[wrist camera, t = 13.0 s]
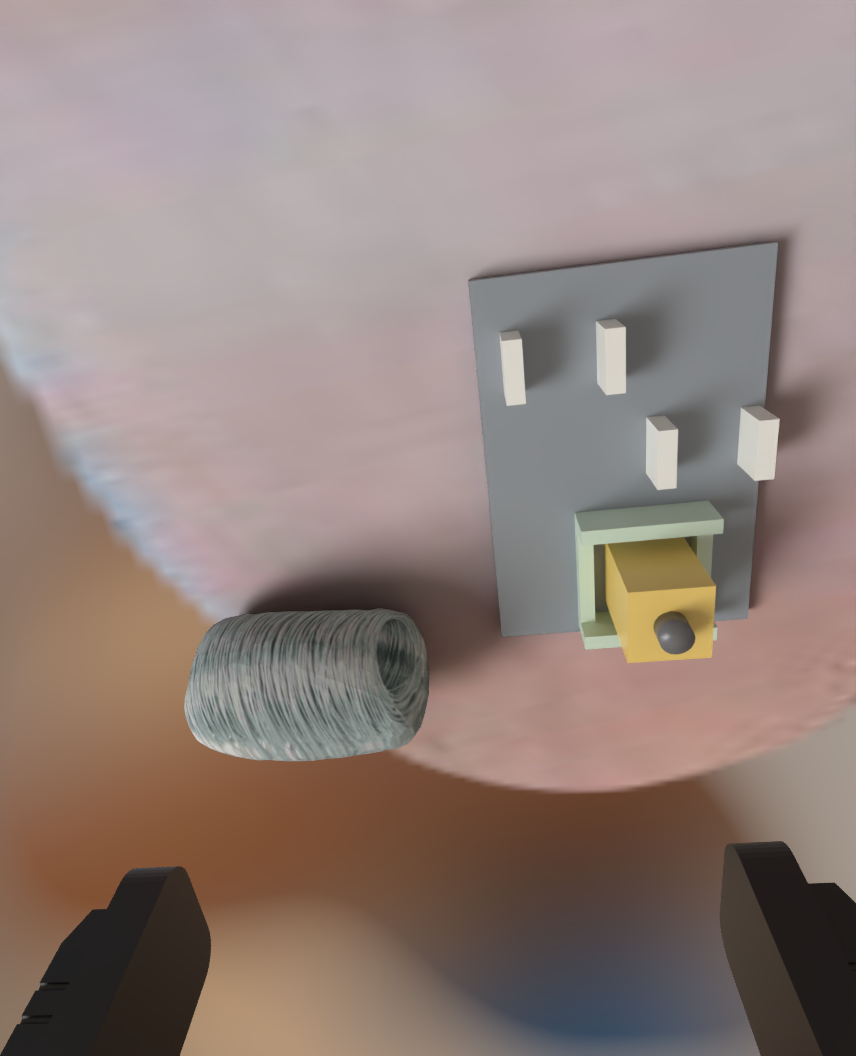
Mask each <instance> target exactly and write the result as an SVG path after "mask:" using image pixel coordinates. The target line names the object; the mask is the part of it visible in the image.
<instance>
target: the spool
mask: <svg viewBox="0 0 856 1056" xmlns="http://www.w3.org/2000/svg"><path fill="white" fill-rule="evenodd" d="M428 694H429V665H428V656H427V650H426V645H425V641H424V639H423V637H422V635H421V633H420V631H419V629H418V627H417V626H416V624H415V622H414V621H413V620H412V618H410V617H409V616H408V615H407V614H406V613H402V612H397V611H394V610H389V609H383V608H376V609H373V610H329V611H328V610H322V611H286V612H266V613H259V614H243V615H239V616H235V617H230V618H226V619H223V620H222V621H220V622H218V623H216V624H214V625H213V626H212V627H211V628H210V629H209V630H208V631H207V632H206V633H205V635H204V637H203V639H202V641H201V643H200V645H199V646H198V648H197V652H196V655H195V658H194V661H193V664H192V668H191V672H190V677H189V683H188V688H187V692H186V696H185V707H184V709H185V714H186V719H187V721H188V724H189V726H190V729H191V731H192V733H193V734H194V736H195V737H196V739H197V740H198V741H199V742H201V743H202V744H204V745H206V746H207V747H209V748H211V749H214V750H216V751H219V752H222V753H225V754H229V755H232V756H237V757H242V758H248V759H254V760H278V761H312V760H320V759H327V758H341V757H348V756H355V755H360V754H368V753H374V752H380V751H384V750H387V749H397V748H399V747H402V746H404V745H406V744H407V743H409V742H410V741H411V740H412V738H413V737H414V736H415V735H416V733H417V732H418V730H419V728H420V727H421V724H422V721H423V718H424V714H425V709H426V705H427V701H428Z"/></svg>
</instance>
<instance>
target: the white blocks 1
mask: <svg viewBox="0 0 856 1056" xmlns="http://www.w3.org/2000/svg"><path fill="white" fill-rule="evenodd" d="M499 334H500V347H501V359H502V372H503V385H504V395H505V400H506V405H507V406H511V405H521V404H526V396H525V381H524V366H523V350H522V338H521V336H520V334H519V331H518V330H516V331H508V332H499ZM596 348H597V384H598V385H599V386H600V388H601V389H602V390H603V392H604V393H605V394H606V395H614V394H623V393H626V327H625V326H624V325H623V324H621V323H620V322H619V321H617V320H616V319H609V320H601V321H596Z"/></svg>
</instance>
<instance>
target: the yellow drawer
mask: <svg viewBox="0 0 856 1056" xmlns="http://www.w3.org/2000/svg"><path fill="white" fill-rule="evenodd" d="M715 596H716V585H715V584H714V582H713V581H712V579H711V577H710V576H709V574H708V573H707V571H706V570H705V568H704V567H703V565H702V564H701V562H700V561H699V559H698V558H697V556H696V555H695V553H694V552H693V550H692V549H691V547H690V546H689V544H688V543H687V541H686V540H685V538H684V537H678V538H667V539H655V540H644V541H632V542H621V543H609V544H605V601H606V603H607V606H608V609H609V612H610V615H611V617H612V620H613V623H614V626H615V629H616V632H617V634H618V637H619V640H620V643H621V646H622V648H623V651H624V654H625V657H626V660H627V663H636V662H651V661H666V660H681V659H696V658H711V657H712V644H713V628H714V612H715Z"/></svg>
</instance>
